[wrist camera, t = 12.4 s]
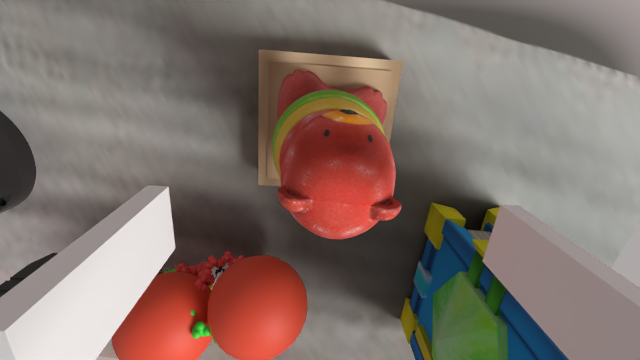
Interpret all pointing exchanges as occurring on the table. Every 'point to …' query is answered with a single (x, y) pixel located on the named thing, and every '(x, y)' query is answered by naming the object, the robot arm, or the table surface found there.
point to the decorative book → (467, 300)
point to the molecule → (216, 311)
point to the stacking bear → (333, 157)
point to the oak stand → (331, 72)
